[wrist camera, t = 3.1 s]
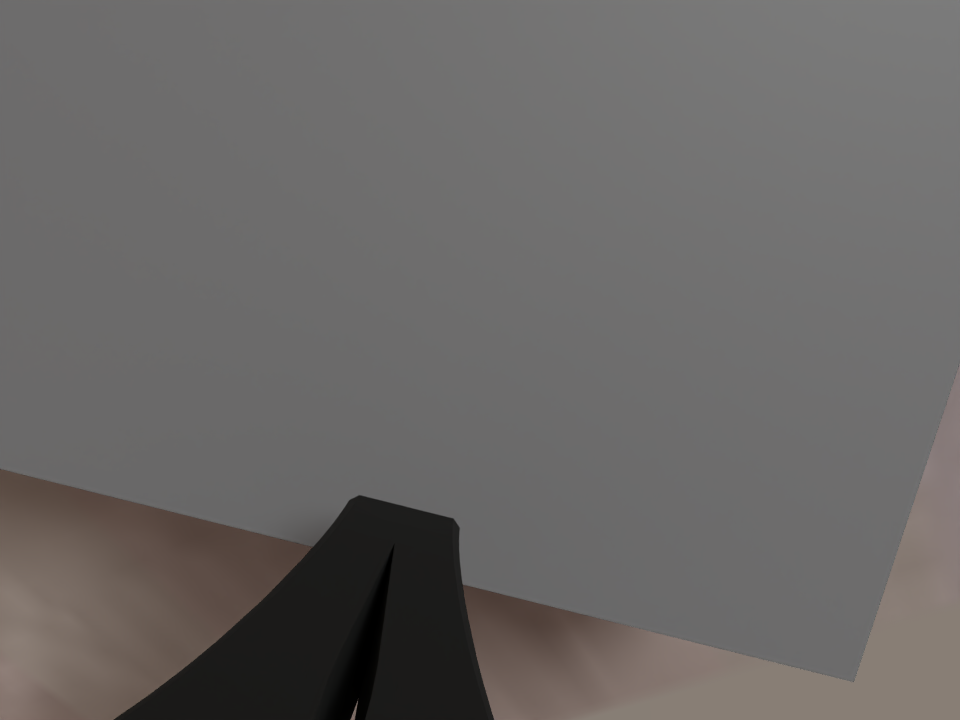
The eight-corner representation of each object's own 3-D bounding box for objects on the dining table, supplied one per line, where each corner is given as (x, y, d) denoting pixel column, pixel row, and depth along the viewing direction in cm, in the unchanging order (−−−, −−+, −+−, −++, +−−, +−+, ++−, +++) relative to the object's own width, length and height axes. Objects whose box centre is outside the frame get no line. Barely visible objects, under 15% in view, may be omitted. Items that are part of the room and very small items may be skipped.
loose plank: (1041, -102, 14) (1132, -158, 12) (808, 624, 15) (854, 681, 13) (14, -368, 14) (-69, -470, 12) (-107, 395, 15) (-199, 419, 13)
